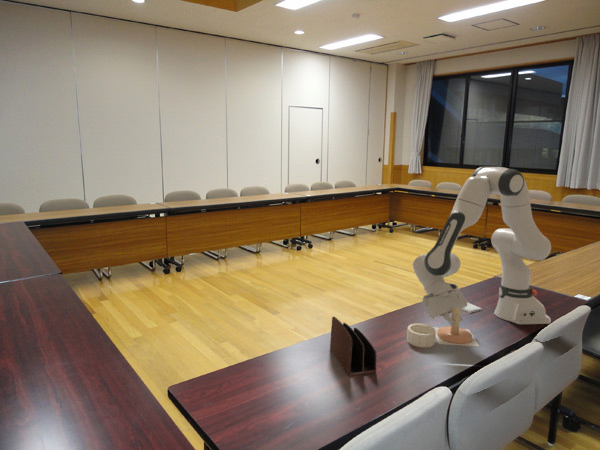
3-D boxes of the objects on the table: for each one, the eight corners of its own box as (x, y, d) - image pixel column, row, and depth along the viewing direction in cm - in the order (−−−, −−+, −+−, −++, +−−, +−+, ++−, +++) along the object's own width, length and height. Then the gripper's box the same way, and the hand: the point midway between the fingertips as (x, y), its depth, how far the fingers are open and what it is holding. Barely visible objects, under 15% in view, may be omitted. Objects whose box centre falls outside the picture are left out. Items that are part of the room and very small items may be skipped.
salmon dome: (466, 330, 173) (469, 302, 170) (476, 345, 160) (478, 315, 158) (434, 328, 174) (436, 300, 172) (440, 342, 162) (443, 313, 159)
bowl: (431, 337, 167) (432, 324, 166) (436, 349, 157) (437, 335, 156) (405, 335, 169) (406, 322, 168) (408, 347, 159) (409, 334, 158)
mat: (468, 330, 174) (468, 329, 174) (479, 347, 159) (479, 346, 159) (431, 328, 175) (431, 327, 175) (438, 345, 161) (438, 343, 161)
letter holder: (348, 377, 139) (350, 337, 136) (329, 348, 158) (330, 313, 155) (376, 373, 141) (378, 334, 138) (354, 345, 160) (356, 311, 157)
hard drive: (448, 301, 202) (469, 310, 192) (460, 299, 206) (482, 307, 195) (448, 305, 203) (469, 314, 192) (460, 302, 206) (481, 311, 196)
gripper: (425, 292, 164) (444, 325, 158) (459, 283, 175) (477, 313, 169) (416, 300, 168) (434, 332, 162) (449, 290, 179) (467, 320, 173)
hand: (456, 322), depth 166 cm, fingers closed on salmon dome, 3 cm apart
